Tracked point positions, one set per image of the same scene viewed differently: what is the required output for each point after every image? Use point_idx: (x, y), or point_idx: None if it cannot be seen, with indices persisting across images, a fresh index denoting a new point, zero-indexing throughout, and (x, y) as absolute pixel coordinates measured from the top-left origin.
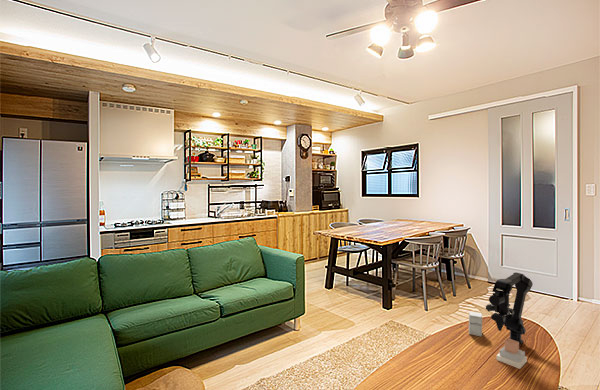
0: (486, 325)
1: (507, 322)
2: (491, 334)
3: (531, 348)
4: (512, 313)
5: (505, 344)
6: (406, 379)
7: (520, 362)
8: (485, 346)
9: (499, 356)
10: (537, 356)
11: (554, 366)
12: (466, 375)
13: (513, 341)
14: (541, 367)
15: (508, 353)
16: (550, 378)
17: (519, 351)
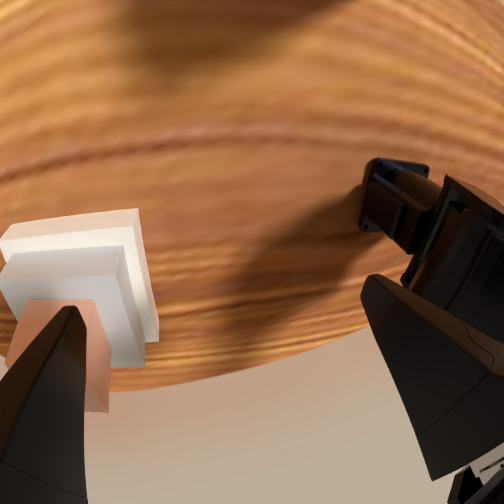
0: (479, 28)
1: (393, 362)
2: (400, 47)
3: (346, 278)
4: (455, 498)
5: (15, 341)
6: None
7: None
8: (122, 66)
9: (4, 257)
10: (267, 323)
11: (222, 374)
12: None
13: None
14: (163, 361)
15: None
16: (111, 387)
17: (112, 353)
